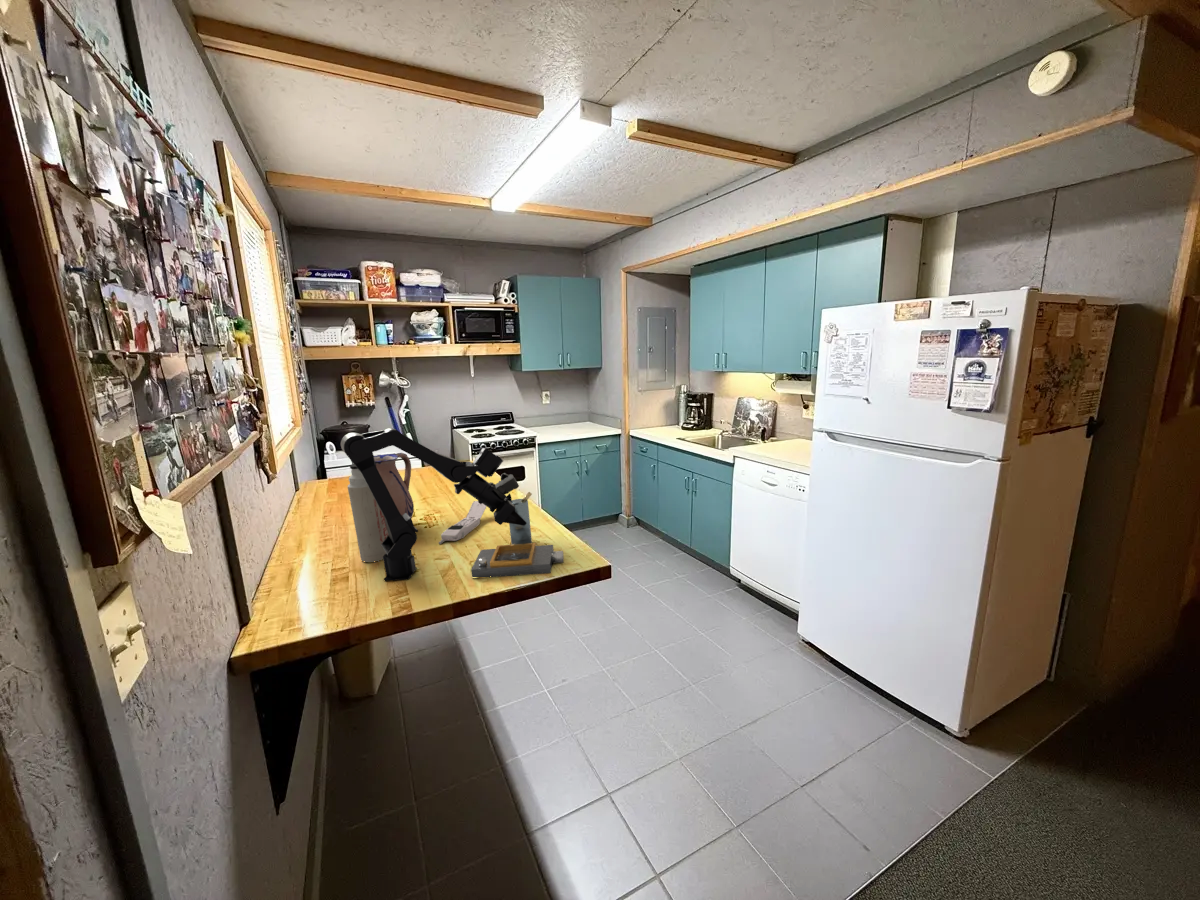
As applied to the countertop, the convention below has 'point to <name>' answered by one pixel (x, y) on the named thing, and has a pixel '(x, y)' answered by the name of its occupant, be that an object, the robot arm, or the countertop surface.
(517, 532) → the spout can
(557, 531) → the countertop surface
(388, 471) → the ceramic pitcher
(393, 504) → the robot arm
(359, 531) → the thermos bottle
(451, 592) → the countertop surface
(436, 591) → the countertop surface
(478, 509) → the mobile phone
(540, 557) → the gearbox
